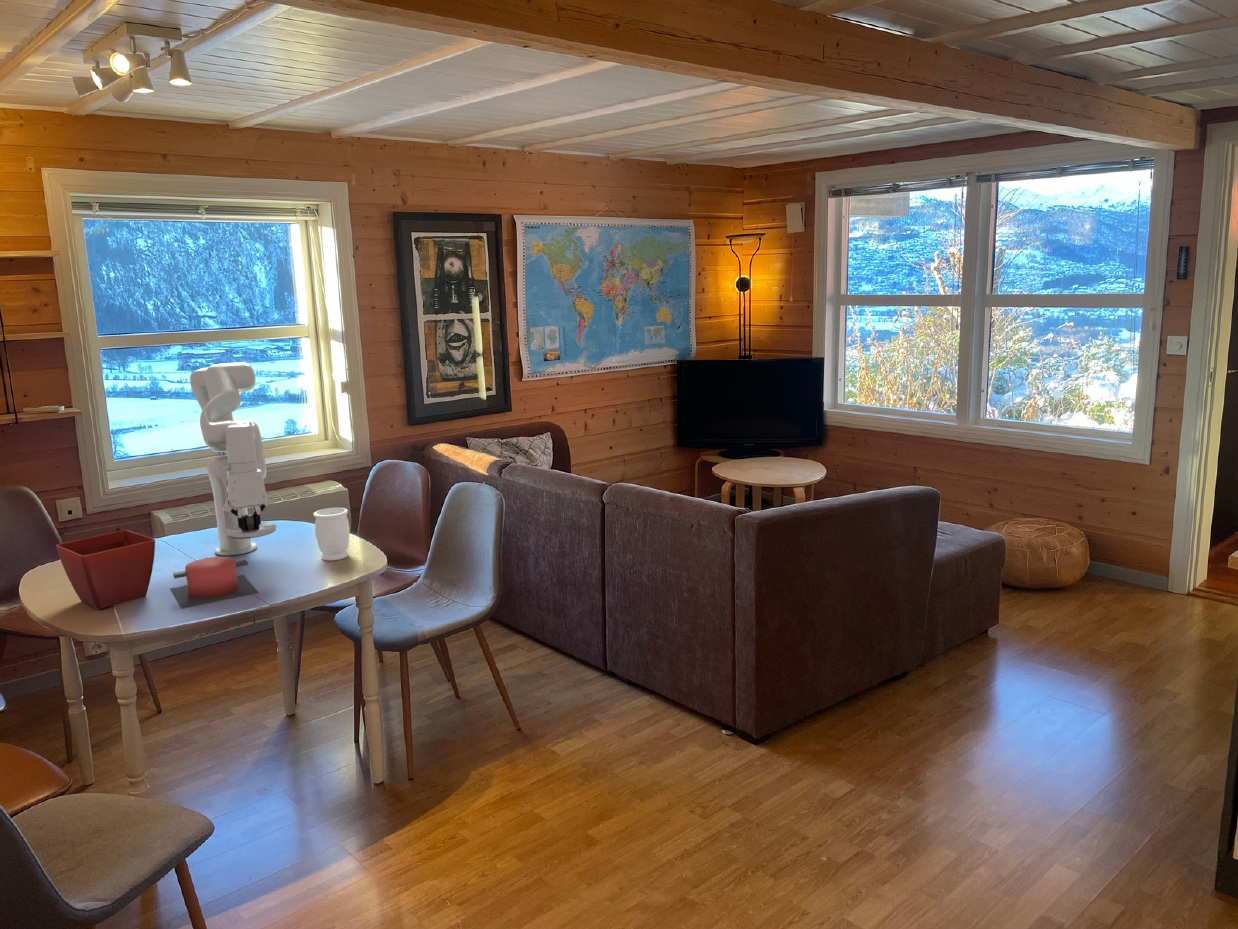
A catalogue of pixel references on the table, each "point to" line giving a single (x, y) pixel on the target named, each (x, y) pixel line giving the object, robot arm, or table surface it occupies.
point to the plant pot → (109, 567)
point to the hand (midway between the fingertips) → (250, 528)
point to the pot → (211, 577)
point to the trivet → (187, 601)
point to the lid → (250, 529)
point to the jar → (332, 533)
